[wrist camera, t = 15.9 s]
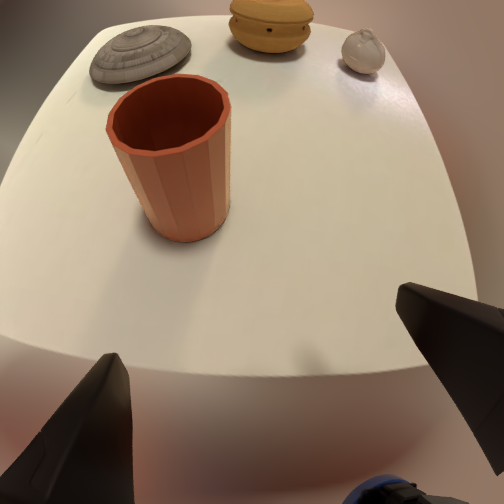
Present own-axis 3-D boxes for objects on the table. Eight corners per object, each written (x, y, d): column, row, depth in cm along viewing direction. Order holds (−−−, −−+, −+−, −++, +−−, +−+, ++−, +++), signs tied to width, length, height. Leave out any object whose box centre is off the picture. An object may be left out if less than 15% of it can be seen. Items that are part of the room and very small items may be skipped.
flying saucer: (86, 62, 33) (78, 36, 28) (172, 30, 37) (169, 4, 32) (100, 107, 29) (87, 74, 24) (209, 65, 33) (208, 31, 28)
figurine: (385, 75, 36) (403, 36, 28) (365, 86, 33) (384, 42, 26) (352, 54, 37) (365, 15, 29) (328, 63, 35) (341, 19, 27)
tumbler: (217, 250, 23) (209, 165, 13) (136, 233, 24) (85, 149, 13) (237, 178, 26) (242, 79, 16) (163, 165, 26) (139, 72, 16)
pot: (257, 24, 38) (262, -24, 29) (318, 46, 37) (331, -5, 27) (211, 46, 35) (211, -11, 25) (280, 72, 33) (291, 8, 24)
